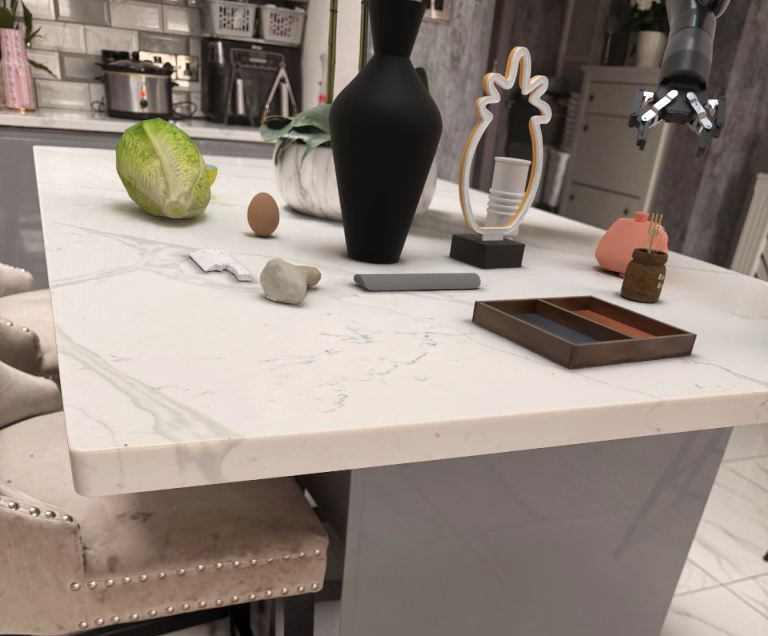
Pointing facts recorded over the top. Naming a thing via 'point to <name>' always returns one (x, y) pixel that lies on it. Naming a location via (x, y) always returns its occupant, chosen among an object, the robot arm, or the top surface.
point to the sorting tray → (582, 330)
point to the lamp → (490, 242)
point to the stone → (287, 281)
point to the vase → (384, 137)
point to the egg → (263, 214)
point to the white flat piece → (219, 262)
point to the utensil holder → (646, 270)
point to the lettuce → (163, 170)
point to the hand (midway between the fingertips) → (670, 150)
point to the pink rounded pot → (627, 242)
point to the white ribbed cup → (506, 192)
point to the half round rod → (418, 281)
